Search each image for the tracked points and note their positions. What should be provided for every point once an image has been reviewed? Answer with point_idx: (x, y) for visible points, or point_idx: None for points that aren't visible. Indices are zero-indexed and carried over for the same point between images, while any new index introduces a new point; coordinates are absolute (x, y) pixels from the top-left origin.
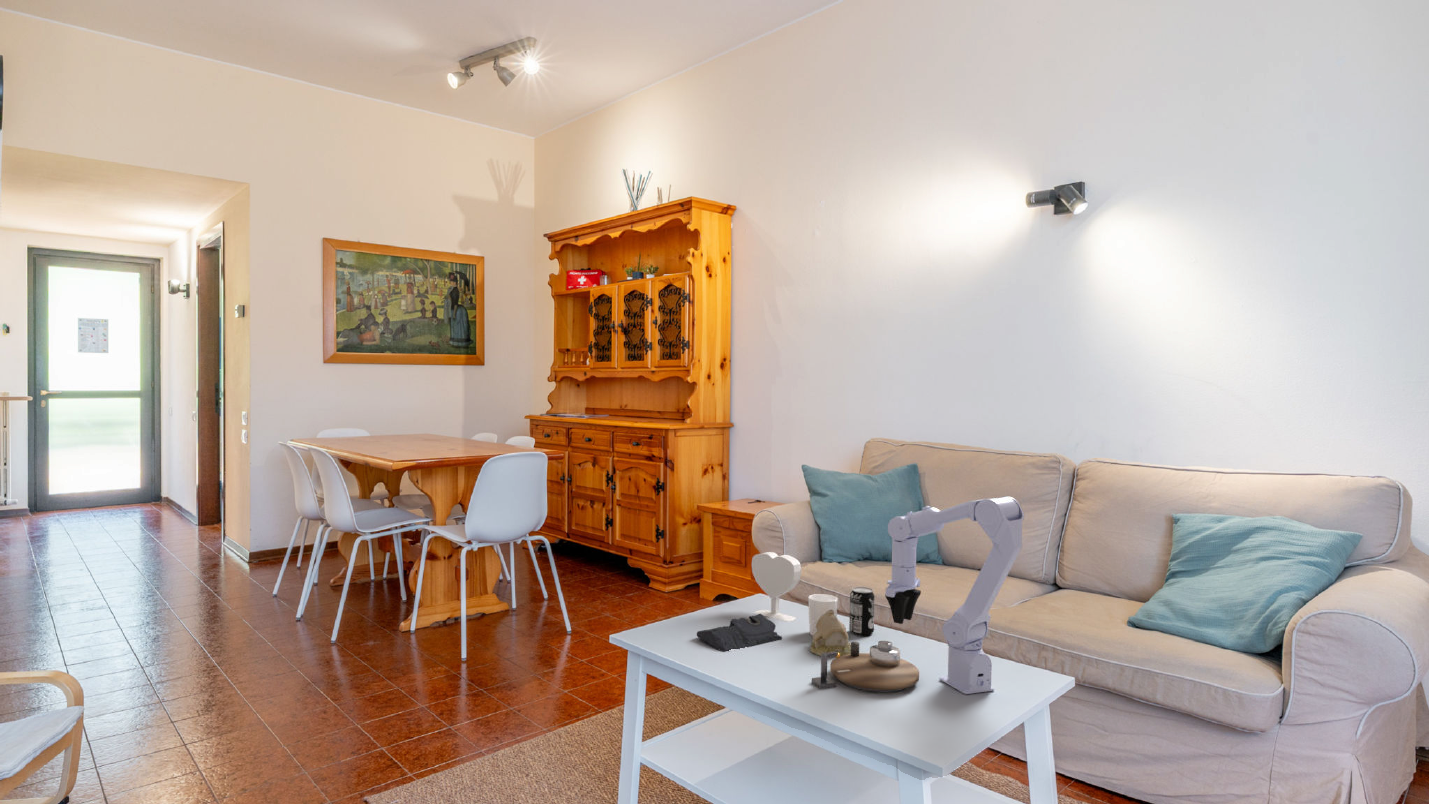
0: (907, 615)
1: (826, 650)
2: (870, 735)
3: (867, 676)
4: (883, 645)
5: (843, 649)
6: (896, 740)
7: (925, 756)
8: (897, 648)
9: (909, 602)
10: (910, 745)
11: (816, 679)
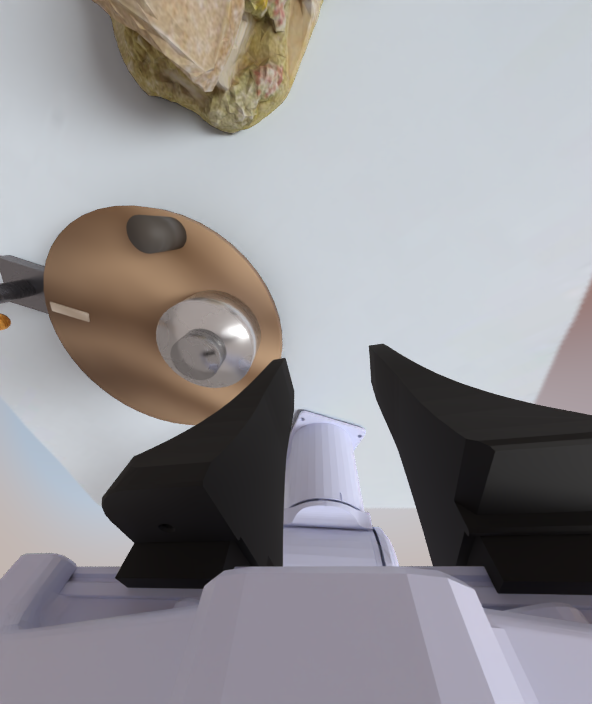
0: (376, 383)
1: (132, 53)
2: (52, 449)
3: (116, 366)
4: (177, 367)
5: (209, 101)
6: (81, 470)
7: (95, 497)
8: (249, 364)
9: (408, 453)
10: (92, 481)
11: (7, 272)
